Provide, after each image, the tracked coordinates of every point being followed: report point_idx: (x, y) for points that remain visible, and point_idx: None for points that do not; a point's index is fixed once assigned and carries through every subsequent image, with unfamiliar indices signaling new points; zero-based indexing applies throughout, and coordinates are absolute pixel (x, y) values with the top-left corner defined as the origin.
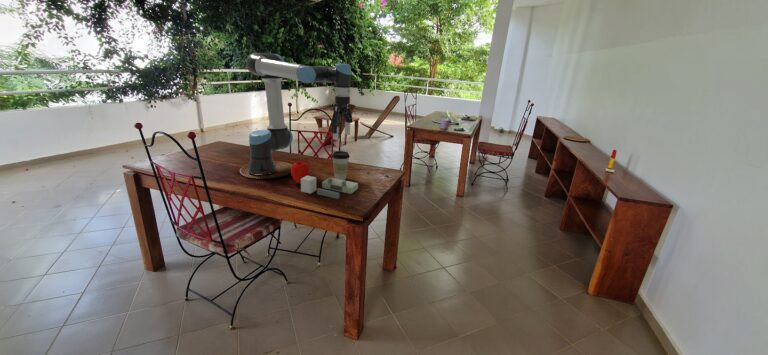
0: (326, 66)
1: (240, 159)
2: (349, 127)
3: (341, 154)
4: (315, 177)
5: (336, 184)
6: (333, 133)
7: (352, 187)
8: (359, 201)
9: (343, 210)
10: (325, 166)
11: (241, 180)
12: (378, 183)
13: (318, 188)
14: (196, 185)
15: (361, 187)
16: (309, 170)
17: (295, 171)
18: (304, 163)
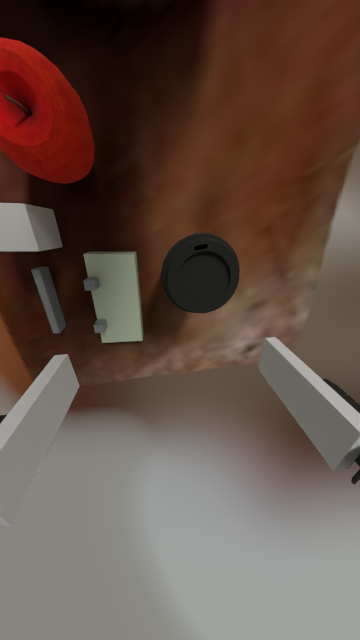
0: None
1: None
2: (296, 417)
3: (193, 288)
4: (36, 249)
5: (97, 302)
6: (25, 399)
7: (110, 341)
8: (84, 364)
9: (23, 361)
10: (280, 134)
11: None
12: (198, 352)
13: (37, 271)
14: None
15: (156, 334)
16: (79, 172)
17: None
18: (42, 130)
